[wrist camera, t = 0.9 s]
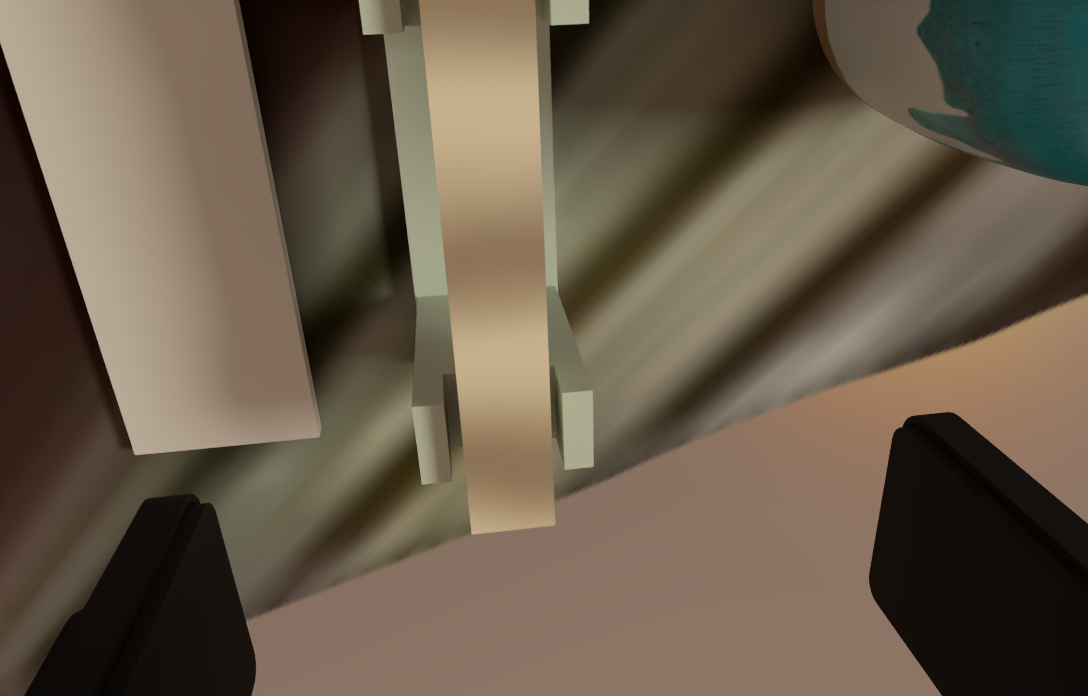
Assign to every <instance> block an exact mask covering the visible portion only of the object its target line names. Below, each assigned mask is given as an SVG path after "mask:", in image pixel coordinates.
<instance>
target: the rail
mask: <svg viewBox="0 0 1088 696" xmlns="http://www.w3.org/2000/svg"><path fill="white" fill-rule="evenodd" d="M419 8H420V18H421V28H422V38H423V48H424V58H425V69H426V79H427V89H428V99H429V109H430V119H431V129H432V139H433V149H434V159H435V169H436V179H437V189H438V199H439V209H440V219H441V230H442V240H443V250H444V260H445V270H446V280H447V290H448V300H449V310H450V320H451V330H452V340H453V350H454V360H455V370H456V380H457V391H458V401H459V411H460V421H461V431H462V441H463V451H464V461H465V471H466V481H467V491H468V501H469V511H470V521H471V531H472V534H481V533H490V532H498V531H508V530H517V529H526V528H535V527H544V526H554V525H555V509H554V480H553V454H552V428H551V402H550V376H549V350H548V324H547V297H546V271H545V245H544V219H543V193H542V167H541V141H540V114H539V88H538V62H537V36H536V10H535V0H419Z"/></svg>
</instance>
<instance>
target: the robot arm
mask: <svg viewBox="0 0 1088 696" xmlns="http://www.w3.org/2000/svg"><path fill="white" fill-rule="evenodd" d="M869 584H870V589H871V592H872V595H873V597H874V599H875V601H876V603H877V604H878V606H879V607H880V609H881V610H882V611H883V613H884V614H885V616H886V617H887V619H888V620H889V621H890V623H891V624H892V626H893V627H894V628H895V630H896V631H897V633H898V634H899V635H900V637H901V638H902V640H903V641H904V643H906V645H907V647H908V648H909V650H910V651H911V652H912V654H913V655H914V657H915V658H916V660H917V661H918V662H919V664H920V665H921V666H922V668H923V669H924V671H925V672H926V674H927V675H928V676H929V678H930V679H931V680H932V682H933V684H934V685H935V686H936V688H937V689H938V690H939V692H940V693H941V695H942V696H1088V524H1087V523H1086V522H1085V521H1084V520H1083V519H1081V518H1080V517H1079V516H1078V515H1077V514H1075V513H1074V512H1073V511H1072V510H1071V509H1069V508H1068V507H1067V506H1066V505H1064V504H1063V503H1062V502H1061V501H1060V500H1059V499H1057V498H1056V497H1055V496H1054V495H1053V494H1052V493H1050V492H1049V491H1048V490H1047V489H1045V488H1044V487H1043V486H1042V485H1041V484H1039V483H1038V482H1037V481H1036V480H1035V479H1033V478H1032V477H1031V476H1030V475H1029V474H1028V473H1026V472H1025V471H1024V470H1023V469H1022V468H1020V467H1019V466H1018V465H1017V464H1016V463H1014V462H1013V461H1012V460H1011V459H1010V458H1008V457H1007V456H1006V455H1005V454H1004V453H1002V452H1001V451H1000V450H999V449H998V448H996V447H995V446H994V445H993V444H992V443H990V442H989V441H988V440H987V439H985V438H984V437H983V436H982V435H981V434H980V433H978V432H977V431H976V430H975V429H974V428H972V427H971V426H970V425H969V424H968V423H967V422H965V421H964V420H963V419H962V418H960V417H959V416H958V415H956V414H954V413H951V412H950V413H949V412H946V413H935V414H927V415H917V416H911V417H909V418H907V420H906V421H905V423H904V424H903V427H901V428H898V429H897V430H896V431H895V432H894V435H893V438H892V443H891V449H890V455H889V461H888V467H887V473H886V478H885V485H884V490H883V496H882V502H881V508H880V514H879V520H878V526H877V531H876V537H875V543H874V549H873V555H872V561H871V567H870V573H869ZM255 674H256V660H255V654H254V649H253V646H252V642H251V639H250V635H249V631H248V628H247V624H246V620H245V617H244V613H243V609H242V606H241V602H240V598H239V595H238V591H237V588H236V584H235V580H234V577H233V573H232V569H231V566H230V562H229V558H228V555H227V551H226V548H225V544H224V540H223V537H222V533H221V529H220V526H219V522H218V518H217V515H216V512H215V509H214V507H213V505H212V504H210V503H204V504H200V501H199V499H198V498H197V497H196V495H194V494H184V495H175V496H165V497H156V498H149V499H146V500H145V501H144V502H143V503H142V505H141V506H140V508H139V510H138V512H137V513H136V515H135V517H134V519H133V521H132V522H131V524H130V526H129V528H128V530H127V531H126V533H125V535H124V537H123V539H122V540H121V542H120V544H119V546H118V548H117V550H116V551H115V553H114V555H113V557H112V559H111V560H110V562H109V564H108V566H107V568H106V569H105V571H104V573H103V575H102V577H101V578H100V580H99V582H98V584H97V586H96V587H95V589H94V591H93V593H92V595H91V596H90V598H89V600H88V602H87V604H86V605H85V607H84V609H83V610H80V611H78V612H76V613H75V614H73V615H72V616H71V617H70V619H69V620H68V621H67V623H66V624H65V625H64V627H63V629H62V631H61V632H60V634H59V636H58V638H57V639H56V641H55V643H54V645H53V646H52V648H51V650H50V652H49V653H48V655H47V657H46V659H45V660H44V662H43V664H42V666H41V667H40V669H39V671H38V673H37V674H36V676H35V678H34V680H33V681H32V683H31V685H30V687H29V688H28V690H27V692H26V694H25V695H24V696H251V695H252V691H253V687H254V683H255V676H256V675H255Z"/></svg>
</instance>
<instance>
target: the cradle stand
mask: <svg viewBox="0 0 1088 696" xmlns="http://www.w3.org/2000/svg"><path fill="white" fill-rule="evenodd" d="M359 7H360V14H361V22H362V30H363V35H371V34H384V42H385V50H386V59H387V67H388V75H389V84H390V92H391V100H392V109H393V117H394V125H395V134H396V142H397V150H398V159H399V167H400V175H401V184H402V192H403V200H404V209H405V217H406V225H407V234H408V242H409V250H410V259H411V267H412V275H413V284H414V292H415V300H416V309H417V318H416V337H415V357H414V377H413V397H412V412H413V419H414V427H415V434H416V442H417V450H418V457H419V465H420V473H421V480H422V484H432V483H442V482H451V481H452V462H451V448H457V447H463V441H462V431H461V421H460V411H459V401H458V391H457V380H456V370H455V360H454V350H453V340H452V330H451V320H450V310H449V300H448V290H447V280H446V270H445V260H444V250H443V240H442V230H441V219H440V209H439V199H438V189H437V179H436V169H435V159H434V149H433V139H432V129H431V119H430V109H429V99H428V89H427V79H426V69H425V58H424V48H423V38H422V28H421V18H420V8H419V0H359ZM535 10H536V36H537V62H538V88H539V114H540V141H541V167H542V193H543V219H544V245H545V271H546V297H547V324H548V350H549V376H550V402H551V428H552V438H557V442H558V446H559V450H560V454H561V458H562V462H563V466H564V470H567V469H577V468H587V467H594V459H593V389H592V387H591V384H590V381H589V378H588V376H587V373H586V370H585V367H584V365H583V362H582V359H581V356H580V353H579V351H578V348H577V345H576V342H575V340H574V337H573V334H572V331H571V328H570V326H569V323H568V320H567V317H566V315H565V312H564V309H563V306H562V304H561V301H560V298H559V295H558V286H557V254H556V222H555V190H554V158H553V126H552V94H551V62H550V30H549V24H550V25H570V24H589V0H535Z"/></svg>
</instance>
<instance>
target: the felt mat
mask: <svg viewBox="0 0 1088 696" xmlns="http://www.w3.org/2000/svg"><path fill="white" fill-rule="evenodd" d="M0 43H1V46H2V49H3V52H4V55H5V59H6V62H7V65H8V68H9V71H10V74H11V77H12V80H13V83H14V86H15V89H16V92H17V95H18V98H19V101H20V104H21V108H22V111H23V114H24V117H25V120H26V123H27V126H28V129H29V132H30V135H31V138H32V141H33V144H34V147H35V150H36V154H37V157H38V160H39V163H40V166H41V169H42V172H43V175H44V178H45V181H46V184H47V187H48V190H49V193H50V196H51V199H52V203H53V206H54V209H55V212H56V215H57V218H58V221H59V224H60V227H61V230H62V233H63V236H64V239H65V242H66V245H67V249H68V252H69V255H70V258H71V261H72V264H73V267H74V270H75V273H76V276H77V279H78V282H79V285H80V288H81V291H82V294H83V298H84V301H85V304H86V307H87V310H88V313H89V316H90V319H91V322H92V325H93V328H94V331H95V334H96V337H97V340H98V343H99V347H100V350H101V353H102V356H103V359H104V362H105V365H106V368H107V371H108V374H109V377H110V380H111V383H112V386H113V389H114V393H115V396H116V399H117V402H118V405H119V408H120V411H121V414H122V417H123V420H124V423H125V426H126V429H127V432H128V435H129V438H130V442H131V445H132V448H133V451H134V454H135V455H142V454H152V453H163V452H173V451H183V450H194V449H204V448H215V447H225V446H235V445H246V444H256V443H266V442H277V441H287V440H297V439H308V438H318V437H320V433H321V429H322V427H321V421H320V416H319V411H318V406H317V401H316V396H315V391H314V385H313V380H312V375H311V370H310V365H309V360H308V354H307V349H306V344H305V339H304V334H303V329H302V323H301V318H300V313H299V308H298V303H297V298H296V292H295V287H294V282H293V277H292V272H291V267H290V262H289V256H288V251H287V246H286V241H285V236H284V231H283V225H282V220H281V215H280V210H279V205H278V200H277V194H276V189H275V184H274V179H273V174H272V169H271V164H270V158H269V153H268V148H267V143H266V138H265V133H264V127H263V122H262V117H261V112H260V107H259V102H258V96H257V91H256V86H255V81H254V76H253V71H252V66H251V60H250V55H249V50H248V45H247V40H246V35H245V29H244V24H243V19H242V14H241V9H240V4H239V0H0Z"/></svg>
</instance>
